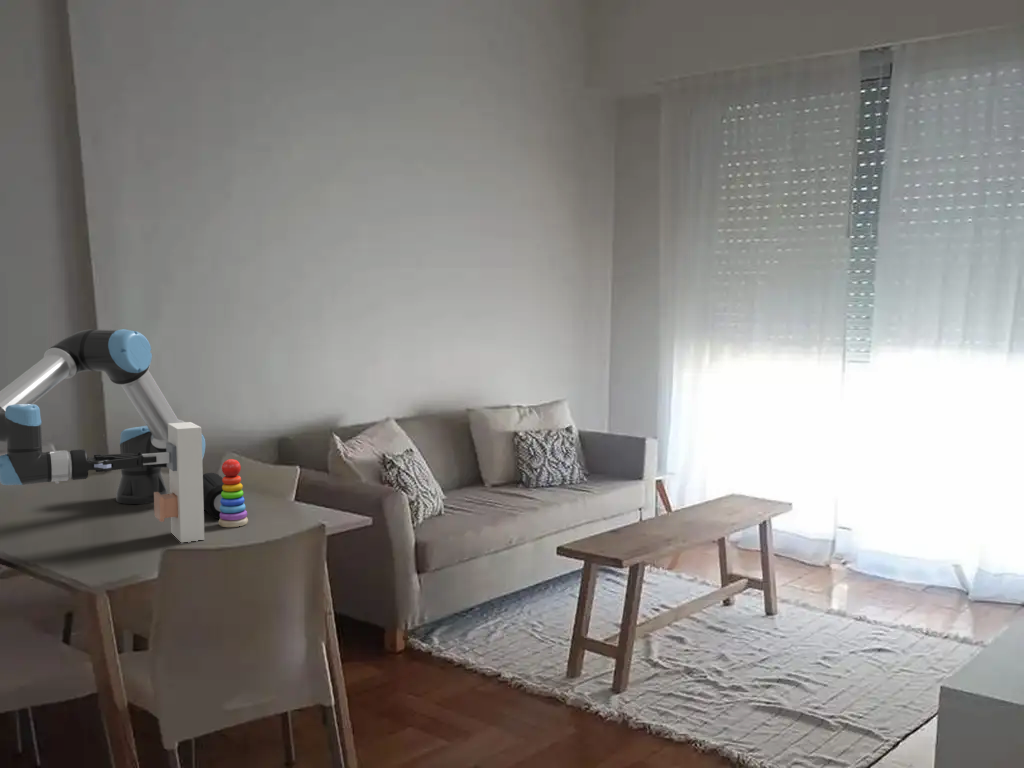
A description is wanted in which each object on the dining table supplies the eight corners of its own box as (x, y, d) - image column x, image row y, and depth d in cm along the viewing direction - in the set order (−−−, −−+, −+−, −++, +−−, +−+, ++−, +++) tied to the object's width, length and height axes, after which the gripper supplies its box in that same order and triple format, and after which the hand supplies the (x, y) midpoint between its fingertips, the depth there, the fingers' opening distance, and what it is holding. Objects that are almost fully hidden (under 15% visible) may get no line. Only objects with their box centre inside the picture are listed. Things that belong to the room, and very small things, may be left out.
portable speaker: (242, 519, 267) (241, 484, 266) (207, 522, 263) (206, 488, 262) (224, 501, 290) (224, 470, 289) (191, 504, 285) (190, 472, 284)
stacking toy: (217, 522, 262) (216, 457, 260) (246, 520, 265) (245, 455, 263) (219, 529, 255) (217, 462, 253) (249, 526, 258) (247, 460, 256)
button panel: (171, 533, 250) (167, 423, 247) (193, 530, 253) (190, 421, 251) (180, 543, 240) (177, 429, 237) (204, 540, 243) (201, 427, 240)
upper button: (166, 466, 246) (166, 442, 245) (193, 464, 250) (193, 440, 249) (172, 471, 240) (172, 446, 239) (200, 468, 243) (200, 444, 243)
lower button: (154, 515, 245) (153, 492, 245) (181, 512, 249) (181, 489, 249) (160, 521, 239) (159, 497, 238) (188, 518, 243) (187, 494, 242)
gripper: (67, 475, 236) (164, 467, 248) (72, 484, 225) (174, 475, 237) (66, 446, 235) (163, 439, 247) (71, 454, 224) (173, 446, 236)
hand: (168, 457), depth 242 cm, fingers closed
